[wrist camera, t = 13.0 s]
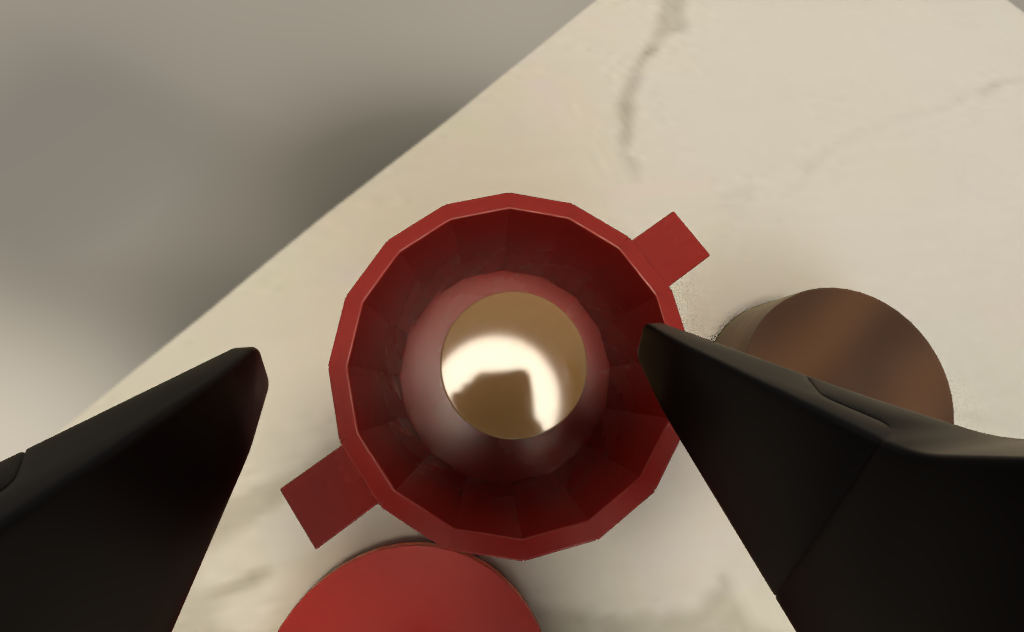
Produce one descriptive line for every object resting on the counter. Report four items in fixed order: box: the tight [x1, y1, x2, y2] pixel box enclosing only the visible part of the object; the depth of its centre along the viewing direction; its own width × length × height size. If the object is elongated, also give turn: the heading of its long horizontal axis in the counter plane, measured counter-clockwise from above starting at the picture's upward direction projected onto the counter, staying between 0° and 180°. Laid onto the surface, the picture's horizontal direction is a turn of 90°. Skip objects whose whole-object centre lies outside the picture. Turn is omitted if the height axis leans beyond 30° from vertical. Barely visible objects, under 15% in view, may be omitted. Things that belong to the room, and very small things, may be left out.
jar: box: [440, 291, 587, 440], centre depth 18 cm, size 6×6×7 cm
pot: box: [280, 193, 709, 561], centre depth 18 cm, size 13×18×8 cm
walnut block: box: [715, 288, 954, 424], centre depth 21 cm, size 11×11×4 cm
